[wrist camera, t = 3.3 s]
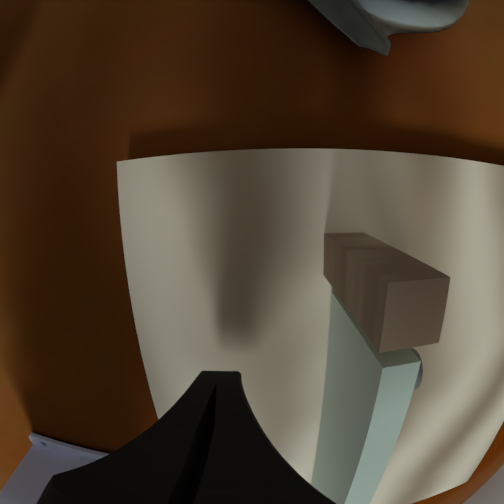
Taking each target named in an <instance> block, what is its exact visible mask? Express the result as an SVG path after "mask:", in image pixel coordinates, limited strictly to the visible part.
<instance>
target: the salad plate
mask: <svg viewBox="0 0 504 504" xmlns="http://www.w3.org/2000/svg"><path fill="white" fill-rule="evenodd" d="M307 1H308V2H309V3H310V4H311V5H312V6H313V7H314V8H315V9H316V10H317V11H318V12H320V13H321V14H322V15H323V16H324V17H325V18H326V19H327V20H329V21H330V22H331V23H332V24H333V25H334V26H335V27H337V28H338V29H339V30H340V31H341V32H343V33H344V34H345V35H346V36H347V37H348V38H349V39H351V40H352V41H353V42H354V43H355V44H356V45H358V46H360V47H363V48H367V49H371V50H374V51H376V52H378V53H380V54H383V55H386V56H388V54H389V49H390V46H391V42H390V40H389V39H388V36H389V35H391V34H396V33H429V32H439V31H440V30H445V29H448V28H450V27H452V26H453V25H454V24H456V23H457V21H458V20H459V19H460V18H461V17H462V15H463V14H464V12H465V10H466V8H467V5H468V3H469V0H307Z"/></svg>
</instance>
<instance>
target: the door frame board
mask: <svg viewBox="0 0 504 504" xmlns="http://www.w3.org/2000/svg"><path fill="white" fill-rule="evenodd" d="M117 178H118V196H119V209H120V221H121V231H122V241H123V249H124V257H125V265H126V272H127V279H128V286H129V292H130V298H131V304H132V310H133V315H134V321H135V326H136V331H137V336H138V341H139V346H140V350H141V355H142V359H143V363H144V368H145V372H146V376H147V380H148V384H149V388H150V392H151V395H152V399H153V403H154V406H155V410H156V413H157V417H158V420H159V419H160V418H161V417H162V416H163V415H164V414H165V413H166V412H167V411H168V410H169V409H170V408H171V407H172V406H173V405H174V404H175V403H176V402H177V401H178V399H179V398H180V397H181V396H182V395H183V394H184V393H185V391H186V390H187V389H188V388H189V386H190V385H191V384H192V383H193V381H194V380H195V379H196V377H197V376H198V375H199V373H200V372H201V371H239V372H240V373H241V376H242V385H243V389H244V392H245V395H246V398H247V400H248V402H249V405H250V407H251V409H252V411H253V413H254V415H255V417H256V419H257V421H258V423H259V424H260V426H261V428H262V430H263V431H264V433H265V434H266V436H267V437H268V439H269V440H270V441H271V443H272V444H273V446H274V447H275V448H276V449H277V451H278V452H279V453H280V454H281V456H282V457H283V458H284V459H285V460H286V461H287V462H288V463H289V464H290V465H291V466H292V467H293V468H294V469H295V470H296V472H297V473H298V474H299V475H300V476H302V477H303V478H304V479H305V480H306V481H307V482H308V483H310V484H311V481H312V475H313V469H314V463H315V457H316V450H317V443H318V436H319V429H320V421H321V414H322V405H323V396H324V387H325V377H326V366H327V355H328V342H329V327H330V310H331V292H332V291H336V293H337V294H338V296H339V297H340V298H341V300H342V301H343V302H344V304H345V305H346V307H347V308H348V309H349V311H350V312H351V314H352V315H353V316H354V318H355V319H356V321H357V322H358V323H359V325H360V326H361V328H362V329H363V331H364V332H365V333H366V335H367V336H368V338H369V339H370V341H371V342H372V343H373V345H374V346H375V348H376V349H377V351H378V352H379V353H382V352H389V351H395V350H401V349H407V348H414V349H416V350H417V352H418V353H419V355H420V357H421V360H422V365H423V377H422V382H421V384H420V386H419V388H418V389H416V390H413V393H412V397H411V400H410V403H409V407H408V410H407V413H406V416H405V419H404V422H403V425H402V428H401V431H400V434H399V436H398V439H397V442H396V444H395V447H394V450H393V452H392V455H391V457H390V460H389V462H388V465H387V467H386V469H385V472H384V474H383V476H382V479H381V481H380V483H379V485H378V487H377V490H376V492H375V494H374V496H373V498H372V500H371V502H370V504H411V503H414V502H417V501H420V500H423V499H426V498H429V497H431V496H434V495H437V494H439V493H442V492H444V491H447V490H449V489H451V488H454V487H456V486H458V485H461V484H463V483H465V482H467V481H468V479H469V478H470V476H471V475H472V473H473V472H474V471H475V469H476V467H477V466H478V464H479V463H480V461H481V460H482V458H483V456H484V455H485V453H486V452H487V450H488V448H489V447H490V445H491V443H492V441H493V440H494V438H495V436H496V434H497V432H498V431H499V429H500V427H501V425H502V423H503V421H504V166H501V165H496V164H490V163H484V162H478V161H471V160H465V159H457V158H450V157H442V156H433V155H424V154H413V153H402V152H389V151H374V150H354V149H316V148H287V149H249V150H228V151H212V152H199V153H187V154H176V155H166V156H157V157H149V158H140V159H133V160H125V161H118V162H117Z"/></svg>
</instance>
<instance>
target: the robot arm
mask: <svg viewBox="0 0 504 504" xmlns="http://www.w3.org/2000/svg"><path fill="white" fill-rule="evenodd" d="M29 438H30V440H31V442H32V444H33V445H32V447H31V448H30V450H29V451H28V452H27V454H26V455H25V457H24V458H23V460H22V461H21V462H20V464H19V465H18V467H17V468H16V470H15V471H14V473H13V474H12V476H11V477H10V479H9V480H8V482H7V483H6V485H5V486H4V488H3V489H2V491H1V493H0V504H336V503H335V502H333V501H332V500H331V499H329V498H328V497H326V496H325V495H323V494H322V493H321V492H320V491H318V490H317V489H316V488H314V487H313V486H312V485H311V484H310V483H308V482H307V481H306V480H305V479H304V478H303V477H302V476H300V475H299V474H298V473H297V472H296V470H295V469H294V468H293V467H292V466H291V465H290V464H289V463H288V462H287V461H286V460H285V459H284V458H283V457H282V456H281V454H280V453H279V452H278V451H277V449H276V448H275V447H274V446H273V444H272V443H271V441H270V440H269V439H268V437H267V436H266V434H265V433H264V431H263V430H262V428H261V426H260V424H259V423H258V421H257V419H256V417H255V415H254V413H253V411H252V409H251V407H250V405H249V402H248V400H247V398H246V395H245V392H244V389H243V385H242V376H241V373H240V372H239V371H201V372H200V373H199V375H198V376H197V377H196V379H195V380H194V381H193V383H192V384H191V385H190V386H189V388H188V389H187V390H186V391H185V393H184V394H183V395H182V396H181V397H180V398H179V399H178V401H177V402H176V403H175V404H174V405H173V406H172V407H171V408H170V409H169V410H168V411H167V412H166V413H165V414H164V415H163V416H162V417H161V418H160V419H159V420H158V421H157V422H156V423H154V424H153V425H152V426H151V427H150V428H148V429H147V430H146V431H145V432H143V433H142V434H141V435H139V436H138V437H137V438H135V439H134V440H132V441H131V442H129V443H128V444H126V445H124V446H123V447H121V448H119V449H118V450H116V451H114V452H112V453H111V454H108V453H103V452H99V451H94V450H90V449H86V448H82V447H78V446H74V445H71V444H67V443H64V442H60V441H57V440H54V439H50V438H47V437H44V436H41V435H38V434H35V433H31V434H30V435H29Z"/></svg>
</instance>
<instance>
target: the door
mask: <svg viewBox="0 0 504 504" xmlns="http://www.w3.org/2000/svg"><path fill="white" fill-rule="evenodd" d="M422 377H423V365H422V360H421V357H420V355H419V353H418V352H417V350H416V349H414V348H407V349H401V350H395V351H389V352H382V353H379V352H378V351H377V349H376V348H375V346H374V345H373V343H372V342H371V341H370V339H369V338H368V336H367V335H366V333H365V332H364V331H363V329H362V328H361V326H360V325H359V323H358V322H357V321H356V319H355V318H354V316H353V315H352V314H351V312H350V311H349V309H348V308H347V307H346V305H345V304H344V302H343V301H342V300H341V298H340V297H339V296H338V294H337V293H336V291H332V292H331V310H330V327H329V342H328V355H327V366H326V377H325V387H324V396H323V405H322V414H321V421H320V429H319V436H318V443H317V450H316V457H315V463H314V469H313V475H312V481H311V485H312V486H313V487H314V488H316V489H317V490H318V491H320V492H321V493H322V494H323V495H325V496H326V497H328V498H329V499H331V500H332V501H333V502H335V503H336V504H370V502H371V500H372V498H373V496H374V494H375V492H376V490H377V487H378V485H379V483H380V481H381V479H382V476H383V474H384V472H385V469H386V467H387V465H388V462H389V460H390V457H391V455H392V452H393V450H394V447H395V444H396V442H397V439H398V436H399V434H400V431H401V428H402V425H403V422H404V419H405V416H406V413H407V410H408V407H409V403H410V400H411V397H412V393H413V390H416V389H418V388H419V386H420V384H421V382H422Z"/></svg>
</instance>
